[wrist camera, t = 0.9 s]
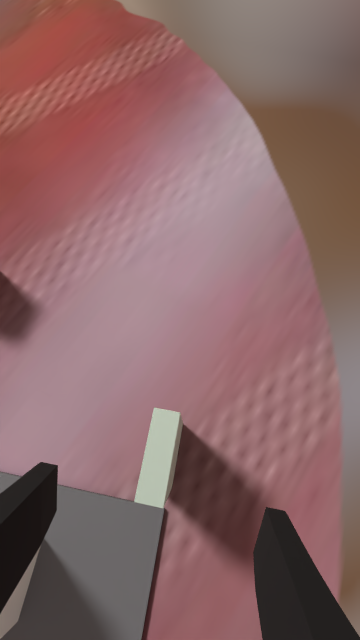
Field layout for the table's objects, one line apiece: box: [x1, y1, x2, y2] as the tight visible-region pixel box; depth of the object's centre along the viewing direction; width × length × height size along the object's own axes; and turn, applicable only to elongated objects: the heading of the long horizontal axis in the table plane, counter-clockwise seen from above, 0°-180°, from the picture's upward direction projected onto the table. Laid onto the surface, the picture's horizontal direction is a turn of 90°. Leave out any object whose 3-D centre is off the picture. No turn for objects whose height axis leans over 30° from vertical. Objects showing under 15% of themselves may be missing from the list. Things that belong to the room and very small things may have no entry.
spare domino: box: [134, 408, 183, 508], centre depth 21 cm, size 2×5×9 cm, turn 169°
